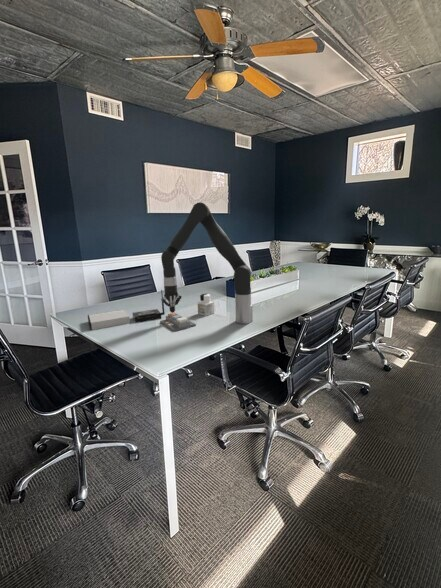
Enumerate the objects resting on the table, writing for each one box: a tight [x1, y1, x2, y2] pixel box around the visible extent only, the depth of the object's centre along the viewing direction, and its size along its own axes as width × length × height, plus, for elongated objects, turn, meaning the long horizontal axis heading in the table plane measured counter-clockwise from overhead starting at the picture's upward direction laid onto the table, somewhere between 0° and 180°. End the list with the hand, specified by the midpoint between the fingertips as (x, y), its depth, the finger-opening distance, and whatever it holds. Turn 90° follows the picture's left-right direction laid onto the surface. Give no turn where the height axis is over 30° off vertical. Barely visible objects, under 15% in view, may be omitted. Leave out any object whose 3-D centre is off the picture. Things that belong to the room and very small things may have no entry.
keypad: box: [159, 315, 197, 332], centre depth 174 cm, size 14×19×4 cm
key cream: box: [177, 316, 188, 323], centre depth 169 cm, size 4×4×2 cm
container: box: [197, 293, 215, 317], centre depth 192 cm, size 8×8×13 cm
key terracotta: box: [167, 311, 179, 318], centre depth 179 cm, size 4×4×2 cm
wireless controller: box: [132, 289, 165, 323], centre depth 187 cm, size 20×14×17 cm
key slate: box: [172, 314, 183, 321], centre depth 174 cm, size 4×4×2 cm
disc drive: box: [87, 309, 131, 331], centre depth 182 cm, size 18×22×5 cm
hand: (172, 312), depth 178 cm, fingers closed
